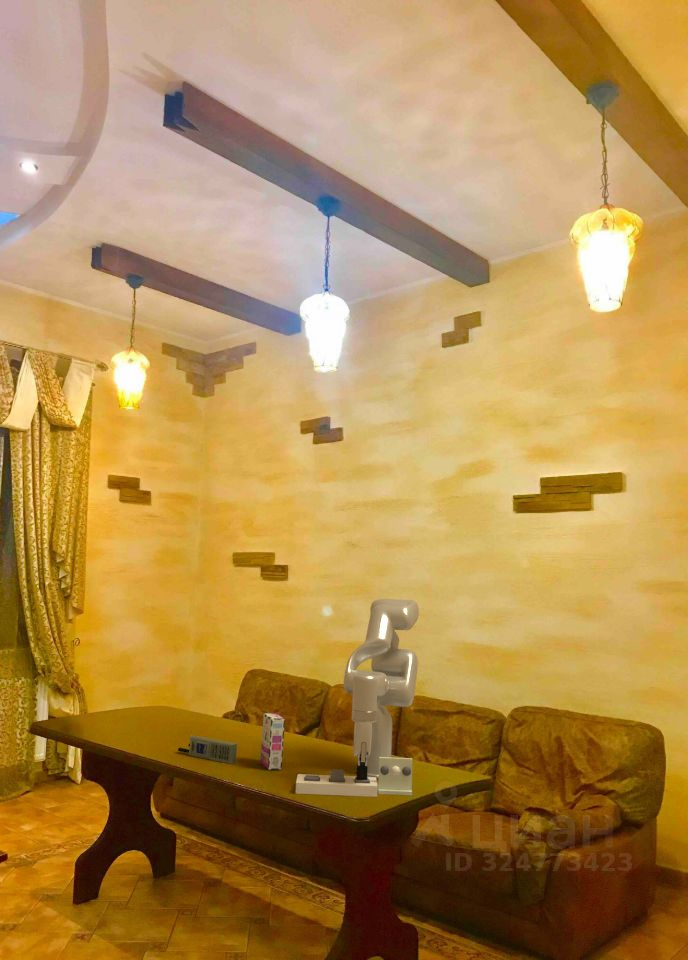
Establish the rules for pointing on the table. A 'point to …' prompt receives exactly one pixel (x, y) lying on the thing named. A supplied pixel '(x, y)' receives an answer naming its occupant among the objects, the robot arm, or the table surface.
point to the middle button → (337, 775)
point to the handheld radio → (211, 749)
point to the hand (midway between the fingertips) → (361, 779)
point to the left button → (311, 778)
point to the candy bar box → (272, 741)
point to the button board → (336, 786)
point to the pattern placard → (395, 776)
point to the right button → (361, 781)
